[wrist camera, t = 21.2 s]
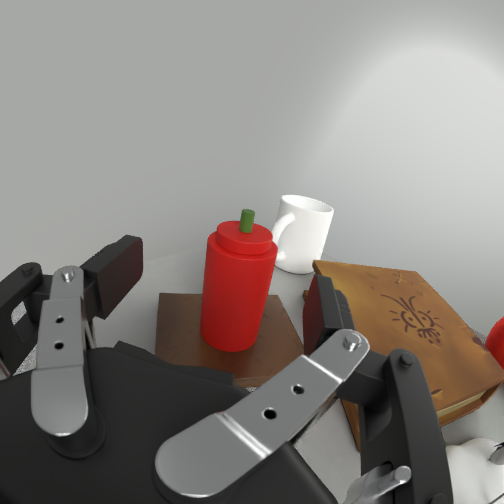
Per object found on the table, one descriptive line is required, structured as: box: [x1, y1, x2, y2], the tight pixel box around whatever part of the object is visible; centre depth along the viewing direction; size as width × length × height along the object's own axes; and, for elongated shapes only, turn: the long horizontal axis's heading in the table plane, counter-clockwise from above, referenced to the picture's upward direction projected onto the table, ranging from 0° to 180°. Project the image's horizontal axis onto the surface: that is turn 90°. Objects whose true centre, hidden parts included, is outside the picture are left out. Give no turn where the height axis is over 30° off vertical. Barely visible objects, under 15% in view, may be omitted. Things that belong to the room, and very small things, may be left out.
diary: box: [303, 260, 504, 453], centre depth 26 cm, size 23×19×6 cm
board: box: [155, 293, 304, 388], centre depth 26 cm, size 14×12×2 cm
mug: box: [271, 195, 334, 274], centre depth 41 cm, size 12×8×10 cm
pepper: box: [200, 209, 278, 352], centre depth 23 cm, size 6×6×12 cm
